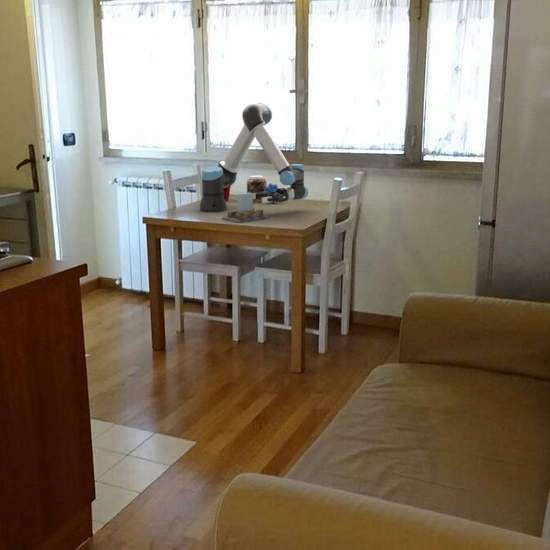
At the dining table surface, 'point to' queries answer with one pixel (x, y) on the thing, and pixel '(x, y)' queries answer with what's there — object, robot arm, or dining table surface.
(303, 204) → the dining table surface
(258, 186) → the jar
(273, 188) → the blue gear
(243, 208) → the pale grey panel
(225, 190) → the plastic cup
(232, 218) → the slot rack
